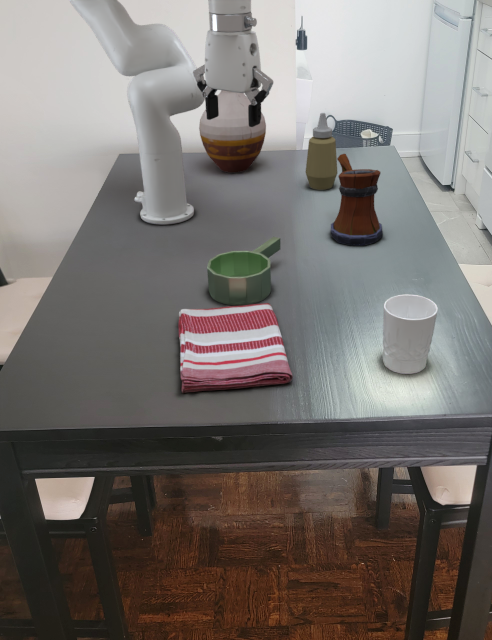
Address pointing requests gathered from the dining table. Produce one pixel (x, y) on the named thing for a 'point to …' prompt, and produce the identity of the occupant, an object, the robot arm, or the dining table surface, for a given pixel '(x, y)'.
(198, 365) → the dish towel
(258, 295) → the green saucepan
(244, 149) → the jug
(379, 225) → the mug
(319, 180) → the squeeze bottle
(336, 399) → the dining table surface
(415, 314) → the white cup
